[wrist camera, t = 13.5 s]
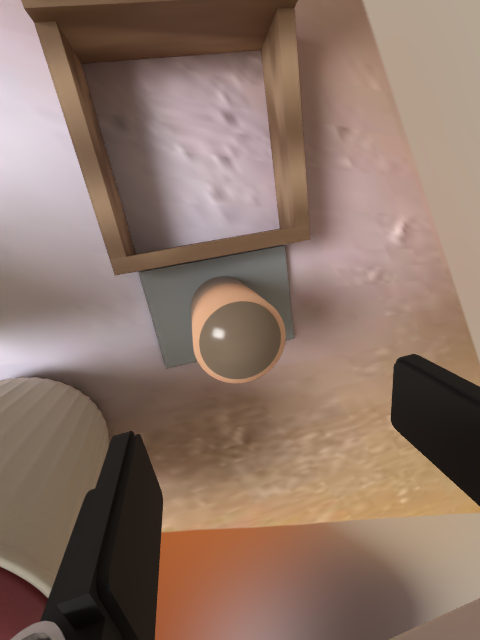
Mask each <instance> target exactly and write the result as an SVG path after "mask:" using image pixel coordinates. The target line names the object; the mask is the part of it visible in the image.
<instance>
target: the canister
mask: <svg viewBox="0 0 480 640" xmlns="http://www.w3.org/2000/svg"><path fill="white" fill-rule="evenodd" d="M108 437H109V433H108V429H107V427H106V421H105V419H104V418H103V416H102V412H101V411H100V410H99V409H98V408H97V406H96V404H95V403H93V402H92V401H91V400H90V398H89V397H88V396H86V395H84V394H83V393H82V392H81V391H80V390H77V389H75V388H73V387H72V386H71V385H66V384H63V383H62V382H60V381H53V380H50V379H48V378H47V379H41V378H38V377H32V378H26V377H19V378H15V379H5V380H1V381H0V640H11V639H12V638H13V637H14V636H15V635H17V634H18V633H19V632H20V631H22V630H24V629H25V628H27V627H29V626H30V625H32V624H34V623H38V622H40V620H41V617H42V614H43V611H44V609H45V606H46V603H47V600H48V598H49V595H50V592H51V589H52V586H53V584H54V581H55V578H56V575H57V573H58V570H59V567H60V564H61V561H62V559H63V556H64V553H65V550H66V548H67V545H68V542H69V539H70V536H71V534H72V531H73V528H74V525H75V523H76V520H77V517H78V514H79V511H80V509H81V506H82V503H83V500H84V498H85V496H86V494H87V493H88V491H89V490H92V489H95V487H96V484H97V481H98V478H99V475H100V472H101V469H102V466H103V463H104V460H105V457H106V454H107V451H108V448H109V439H108Z"/></svg>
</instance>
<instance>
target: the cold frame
mask: <svg viewBox="0 0 480 640" xmlns="http://www.w3.org/2000/svg"><path fill="white" fill-rule="evenodd" d="M297 1H298V0H22V3H23V6H24V9H25V10H26V12H27V13H28V14H29V16H30V17H31V19H32V20H33V21H34V24H35V27H36V30H37V33H38V36H39V39H40V42H41V46H42V49H43V52H44V55H45V58H46V61H47V64H48V68H49V71H50V74H51V77H52V80H53V83H54V86H55V89H56V93H57V96H58V99H59V102H60V105H61V108H62V111H63V114H64V118H65V121H66V124H67V127H68V130H69V133H70V136H71V139H72V143H73V146H74V149H75V152H76V155H77V158H78V161H79V164H80V168H81V171H82V174H83V177H84V180H85V183H86V186H87V189H88V193H89V196H90V199H91V202H92V205H93V208H94V211H95V214H96V218H97V221H98V224H99V227H100V230H101V233H102V236H103V239H104V243H105V246H106V249H107V252H108V255H109V258H110V261H111V265H112V268H113V271H114V274H115V275H120V274H125V273H131V272H136V271H142V270H147V269H153V268H158V267H163V266H169V265H174V264H180V263H185V262H191V261H196V260H201V259H207V258H212V257H218V256H223V255H229V254H234V253H240V252H245V251H250V250H256V249H261V248H267V247H272V246H278V245H283V244H289V243H294V242H299V241H305V240H310V225H309V211H308V197H307V182H306V168H305V154H304V139H303V125H302V111H301V96H300V82H299V68H298V53H297V39H296V25H295V11H294V7H295V5H296V3H297ZM250 50H261V54H262V64H263V73H264V83H265V92H266V102H267V111H268V121H269V130H270V140H271V149H272V159H273V168H274V177H275V187H276V196H277V206H278V215H279V225H280V229H276V230H270V231H264V232H259V233H253V234H247V235H241V236H236V237H230V238H224V239H219V240H213V241H207V242H201V243H196V244H190V245H184V246H179V247H173V248H167V249H161V250H156V251H150V252H144V253H139V254H136V253H135V250H134V246H133V243H132V239H131V236H130V232H129V229H128V225H127V222H126V218H125V215H124V211H123V208H122V204H121V201H120V197H119V194H118V190H117V187H116V183H115V180H114V176H113V173H112V169H111V166H110V162H109V159H108V155H107V152H106V148H105V145H104V141H103V138H102V134H101V131H100V127H99V124H98V120H97V117H96V113H95V110H94V106H93V103H92V99H91V96H90V92H89V89H88V85H87V82H86V78H85V75H84V71H83V68H82V64H83V63H96V62H108V61H121V60H134V59H147V58H160V57H173V56H186V55H198V54H211V53H224V52H237V51H250Z"/></svg>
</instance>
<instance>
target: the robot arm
mask: <svg viewBox="0 0 480 640" xmlns="http://www.w3.org/2000/svg"><path fill="white" fill-rule="evenodd" d="M391 422H392V425H393V427H394V428H395V429H396V430H397V431H398V432H399V433H400V434H401V435H402V436H403V437H405V438H406V439H407V440H408V441H409V442H410V443H411V444H412V445H413V446H414V447H415V448H417V449H418V450H419V451H420V452H421V453H422V454H423V455H424V456H425V457H426V458H427V459H429V460H430V461H431V462H432V463H433V464H434V465H435V466H436V467H437V468H438V469H440V470H441V471H442V472H443V473H444V474H445V475H446V476H447V477H448V478H449V479H450V480H452V481H453V482H454V483H455V484H456V485H457V486H458V487H459V488H460V489H461V490H463V491H464V492H465V493H466V494H467V495H468V496H469V497H470V498H471V499H472V500H473V501H475V502H476V503H477V504H478V505H479V506H480V387H479V386H477V385H475V384H473V383H471V382H469V381H467V380H465V379H463V378H461V377H459V376H458V375H456V374H454V373H452V372H450V371H448V370H446V369H444V368H442V367H440V366H438V365H436V364H434V363H432V362H430V361H428V360H427V359H425V358H423V357H421V356H419V355H416V354H411V355H407V356H404V357H400V358H398V359H397V361H396V363H395V364H394V373H393V390H392V407H391ZM162 512H163V496H162V492H161V489H160V486H159V483H158V481H157V478H156V475H155V473H154V470H153V467H152V464H151V462H150V459H149V456H148V454H147V451H146V448H145V446H144V443H143V440H142V438H141V435H140V434H137V435H135V434H134V433H133V432H132V431H130V432H127V433H123V434H119V435H116V436H113V437H112V439H111V442H110V445H109V448H108V451H107V454H106V457H105V460H104V463H103V466H102V469H101V472H100V475H99V478H98V481H97V484H96V487H95V489H92V490H89V491H88V493H87V494H86V496H85V498H84V500H83V503H82V506H81V509H80V511H79V514H78V517H77V520H76V523H75V525H74V528H73V531H72V534H71V536H70V539H69V542H68V545H67V548H66V550H65V553H64V556H63V559H62V561H61V564H60V567H59V570H58V573H57V575H56V578H55V581H54V584H53V586H52V589H51V592H50V595H49V598H48V600H47V603H46V606H45V609H44V611H43V614H42V617H41V620H40V622H38V623H34V624H32V625H30V626H29V627H27V628H25V629H24V630H22V631H20V632H19V633H18V634H17V635H15V636H14V637H13V638H12V639H11V640H154V639H155V623H156V608H157V607H156V606H157V591H158V575H159V559H160V544H161V543H160V542H161V528H162ZM389 640H480V598H479V599H477V600H475V601H473V602H470V603H468V604H466V605H464V606H462V607H459V608H457V609H455V610H453V611H451V612H448V613H446V614H444V615H442V616H440V617H438V618H436V619H433V620H431V621H429V622H426V623H424V624H422V625H420V626H418V627H416V628H413V629H412V630H409V631H407V632H405V633H402V634H400V635H398V636H396V637H394V638H392V639H389Z"/></svg>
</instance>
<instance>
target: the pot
mask: <svg viewBox="0 0 480 640" xmlns="http://www.w3.org/2000/svg"><path fill="white" fill-rule="evenodd" d="M191 321H192V337H193V349H194V353H195V357H196V359H197V361H198V363H199V364H200V366H201V367H202V369H203V370H204V371H205V372H206V373H208V374H209V375H210V376H212V377H213V378H215V379H217V380H220V381H223V382H227V383H244V382H249V381H252V380H255V379H257V378H259V377H261V376H263V375H264V374H265V373H267V372H268V371H269V370H270V369H271V368H272V367H273V366H274V365H275V364H276V363H277V361H278V360H279V358H280V356H281V354H282V352H283V349H284V345H285V339H286V332H285V326H284V323H283V320H282V318H281V316H280V314H279V313H278V311H277V310H276V309H275V308H274V307H273V306H272V305H271V304H269V303H268V302H267V301H266V300H264V299H263V298H262V297H260V296H259V295H258V294H257V293H255V292H254V291H253V290H251V289H250V288H249V287H248V286H246V285H245V284H244V283H243V282H241V281H240V280H238V279H236V278H233V277H228V276H218V277H214V278H211V279H209V280H207V281H205V282H204V283H203V284H201V285H200V286H199V287H198V289H197V290H196V292H195V293H194V295H193V298H192V301H191Z"/></svg>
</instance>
